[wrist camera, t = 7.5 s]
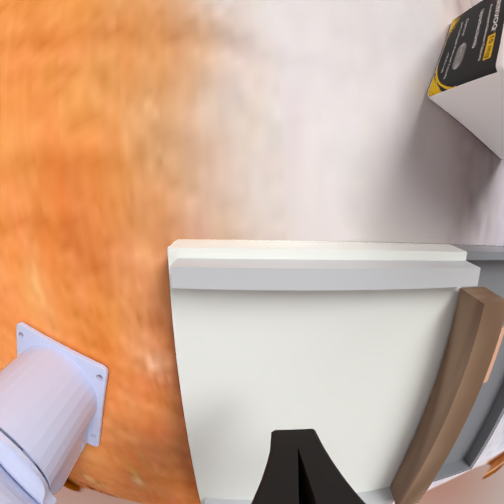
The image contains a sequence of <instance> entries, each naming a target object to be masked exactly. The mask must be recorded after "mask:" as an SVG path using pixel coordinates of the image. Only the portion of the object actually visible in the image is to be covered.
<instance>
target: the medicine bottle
mask: <svg viewBox="0 0 504 504" xmlns="http://www.w3.org/2000/svg"><path fill="white" fill-rule="evenodd" d="M427 95H428V97H429V98H430V99H431V100H432V101H433V102H435V103H436V104H437V105H439V106H440V107H441V108H443V109H444V110H445V111H446V112H448V113H449V114H450V115H451V116H453V117H454V118H455V119H456V120H458V121H459V122H460V123H461V124H462V125H464V126H465V127H466V128H467V129H468V130H469V131H471V132H472V133H473V134H474V135H475V136H476V137H477V138H479V139H480V140H481V141H482V142H483V143H484V144H485V145H486V146H487V147H488V148H489V149H491V150H492V151H493V152H494V153H495V154H496V155H497V156H498V157H499V158H500V159H502V160H504V0H483V1H481V2H479V3H478V4H476V5H475V6H473V7H472V8H470V9H469V10H467V11H466V12H464V13H463V14H461V15H460V16H459V17H457V18H456V19H454V20H453V21H452V24H451V27H450V30H449V33H448V36H447V39H446V42H445V45H444V48H443V51H442V54H441V57H440V60H439V63H438V66H437V68H436V71H435V74H434V77H433V79H432V82H431V85H430V87H429V90H428V94H427Z"/></svg>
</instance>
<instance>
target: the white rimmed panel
mask: <svg viewBox="0 0 504 504" xmlns="http://www.w3.org/2000/svg"><path fill="white" fill-rule="evenodd" d="M466 257H467V252H466V251H464V250H462V249H459V248H457V247H455V246H452V245H450V244H424V243H386V242H341V241H284V240H197V239H177V240H176V241H175V242H174V243H172V244H171V245H170V246H169V247H168V266H169V281H170V295H171V307H172V319H173V329H174V339H175V349H176V358H177V366H178V374H179V382H180V389H181V397H182V404H183V410H184V417H185V423H186V429H187V435H188V441H189V447H190V453H191V458H192V463H193V469H194V474H195V479H196V484H197V488H198V493H199V498H200V502H201V504H251V503H252V501H253V498H254V496H255V494H256V491H257V489H258V487H259V484H260V482H261V479H262V476H263V473H264V470H265V467H266V464H267V461H268V456H269V452H270V443H271V432H273V431H274V430H294V429H314V430H315V431H316V433H317V435H318V437H319V439H320V441H321V443H322V444H323V446H324V448H325V450H326V451H327V453H328V455H329V456H330V458H331V460H332V461H333V463H334V464H335V466H336V467H337V468H338V470H339V471H340V473H341V474H342V476H343V477H344V478H345V480H346V481H347V482H348V484H349V485H350V486H351V487H352V489H353V490H354V491H355V492H356V493H357V495H358V496H359V497H360V498H361V499H362V500H363V501H364V502H365V503H366V504H392V503H393V501H394V498H393V495H392V492H391V490H390V485H391V483H392V481H393V479H394V477H395V476H396V474H397V472H398V470H399V468H400V466H401V464H402V462H403V460H404V457H405V455H406V453H407V451H408V449H409V447H410V445H411V442H412V440H413V438H414V436H415V433H416V431H417V429H418V426H419V424H420V421H421V419H422V416H423V414H424V411H425V409H426V406H427V403H428V401H429V398H430V395H431V392H432V390H433V387H434V384H435V381H436V378H437V375H438V372H439V369H440V365H441V362H442V359H443V356H444V352H445V349H446V345H447V341H448V338H449V334H450V330H451V326H452V322H453V318H454V314H455V309H456V305H457V300H458V295H459V290H460V288H461V287H471V286H478V280H479V275H480V269H481V268H480V267H478V266H476V265H474V264H472V263H470V262H468V261H466Z"/></svg>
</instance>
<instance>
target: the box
mask: <svg viewBox="0 0 504 504" xmlns="http://www.w3.org/2000/svg"><path fill="white" fill-rule="evenodd" d="M450 245H452V246H455V247H457V248H459V249H462V250H464V251H466V252H467V257H466V261H468V262H470V263H472V264H474V265H476V266H478V267H480V268H481V269H480V275H479V280H478V286H471V287H485V288H487V289H489V290H490V291H492V292H494V293H495V294H497V295H499V296H500V297H502V298H504V246H485V245H454V244H450ZM471 287H461V288H471ZM503 326H504V322H503ZM503 414H504V335H503V338H502V341H501V344H500V347H499V350H498V353H497V356H496V359H495V362H494V365H493V367H492V370H491V373H490V375H489V378H488V380H487V382H485V383H483V384H482V387H481V389H480V391H479V394H478V396H477V399H476V401H475V403H474V405H473V408H472V410H471V412H470V414H469V417H468V419H467V421H466V423H465V425H464V427H463V429H462V431H461V433H460V435H459V437H458V439H457V441H456V442H455V444H454V446H453V448H452V450H451V451H450V453H449V455H448V457H447V458H446V460H445V462H444V464H443V465H442V467H441V469H440V470H439V472H438V474H437V475H436V477H435V478H434V480H433V482H434V481H437V480H440V479H444V478H447V477H450V476H453V475H456V474H459V473H461V472H464V471H467V470H470V469H472V467H473V466H474V464H475V463H476V461H477V459H478V458H479V456H480V455H481V453H482V451H483V450H484V448H485V446H486V445H487V443H488V441H489V440H490V438H491V436H492V434H493V432H494V431H495V429H496V427H497V425H498V423H499V421H500V419H501V418H502V416H503Z"/></svg>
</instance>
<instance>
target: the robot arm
mask: <svg viewBox="0 0 504 504" xmlns="http://www.w3.org/2000/svg"><path fill="white" fill-rule="evenodd" d="M22 334H23V335H22ZM108 374H109V371H108V369H107V367H106V366H104V365H103V364H101V363H99V362H96V361H94V360H92V359H90V358H88V357H86V356H84V355H82V354H80V353H78V352H76V351H74V350H72V349H70V348H68V347H66V346H64V345H63V344H61V343H59V342H57V341H55V340H53V339H51V338H50V337H48V336H46V335H44V334H42V333H41V332H39V331H37V330H35V329H34V328H32V327H30V326H29V325H27V324H25V323H24V322H20V323H18V324H17V357H16V358H15V359H14V360H13V361H12V362H10V363H9V364H8V365H7V366H6V367H5V368H4V369H3V370H2V371H1V372H0V504H55V503H56V501H57V499H56V498H55V497H54V496H53V495H54V494H55V493H57V492H58V491H59V490H60V489H61V488H62V487H63V485H64V484H65V482H66V480H67V478H68V476H69V475H70V473H71V471H72V469H73V467H74V465H75V464H76V462H77V460H78V458H79V456H80V455H81V453H82V451H83V449H84V447H85V446H86V444H87V443H88V444H90V445H92V446H96V447H97V446H99V444H100V437H101V427H102V418H103V410H104V402H105V394H106V387H107V380H108ZM99 375H101V376H102V377H100V376H99ZM251 504H366V503H365V502H364V501H363V500H362V499H361V498H360V497H359V496H358V495H357V493H356V492H355V491H354V490H353V489H352V487H351V486H350V485H349V484H348V482H347V481H346V480H345V478H344V477H343V476H342V474H341V473H340V471H339V470H338V468H337V467H336V466H335V464H334V463H333V461H332V460H331V458H330V456H329V455H328V453H327V451H326V450H325V448H324V446H323V444H322V443H321V441H320V439H319V437H318V435H317V433H316V431H315V430H314V429H294V430H274V431H273V432H271V443H270V452H269V456H268V461H267V464H266V467H265V470H264V473H263V476H262V479H261V482H260V484H259V487H258V489H257V491H256V494H255V496H254V498H253V501H252V503H251Z"/></svg>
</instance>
